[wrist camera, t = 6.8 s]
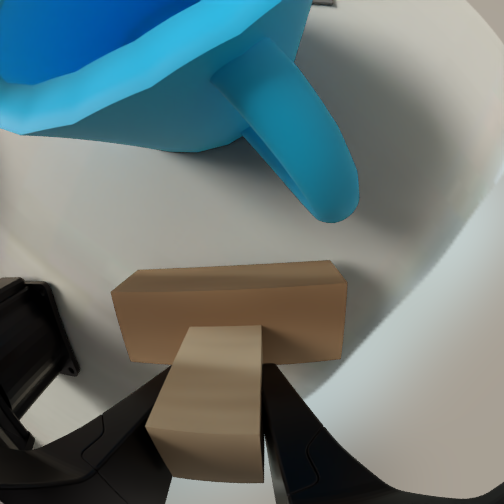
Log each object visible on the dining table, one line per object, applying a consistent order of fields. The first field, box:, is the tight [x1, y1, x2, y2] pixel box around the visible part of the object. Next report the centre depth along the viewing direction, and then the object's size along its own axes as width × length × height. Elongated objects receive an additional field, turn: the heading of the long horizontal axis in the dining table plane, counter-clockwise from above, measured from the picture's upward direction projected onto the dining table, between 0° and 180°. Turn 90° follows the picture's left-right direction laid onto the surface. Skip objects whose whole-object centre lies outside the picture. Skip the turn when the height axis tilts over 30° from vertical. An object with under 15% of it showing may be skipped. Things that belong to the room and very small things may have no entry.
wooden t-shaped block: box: [111, 260, 347, 483], centre depth 8 cm, size 4×8×7 cm, turn 94°
